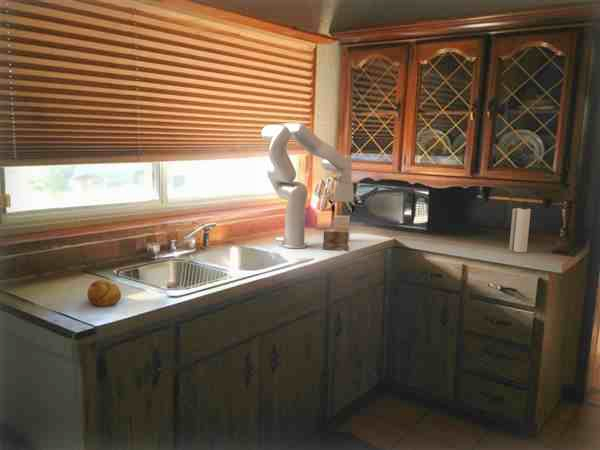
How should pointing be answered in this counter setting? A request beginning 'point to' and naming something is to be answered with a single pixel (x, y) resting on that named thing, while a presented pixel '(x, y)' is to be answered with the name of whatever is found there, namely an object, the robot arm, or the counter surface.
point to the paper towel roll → (519, 230)
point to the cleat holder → (335, 240)
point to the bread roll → (103, 293)
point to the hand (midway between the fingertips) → (343, 212)
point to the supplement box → (342, 224)
